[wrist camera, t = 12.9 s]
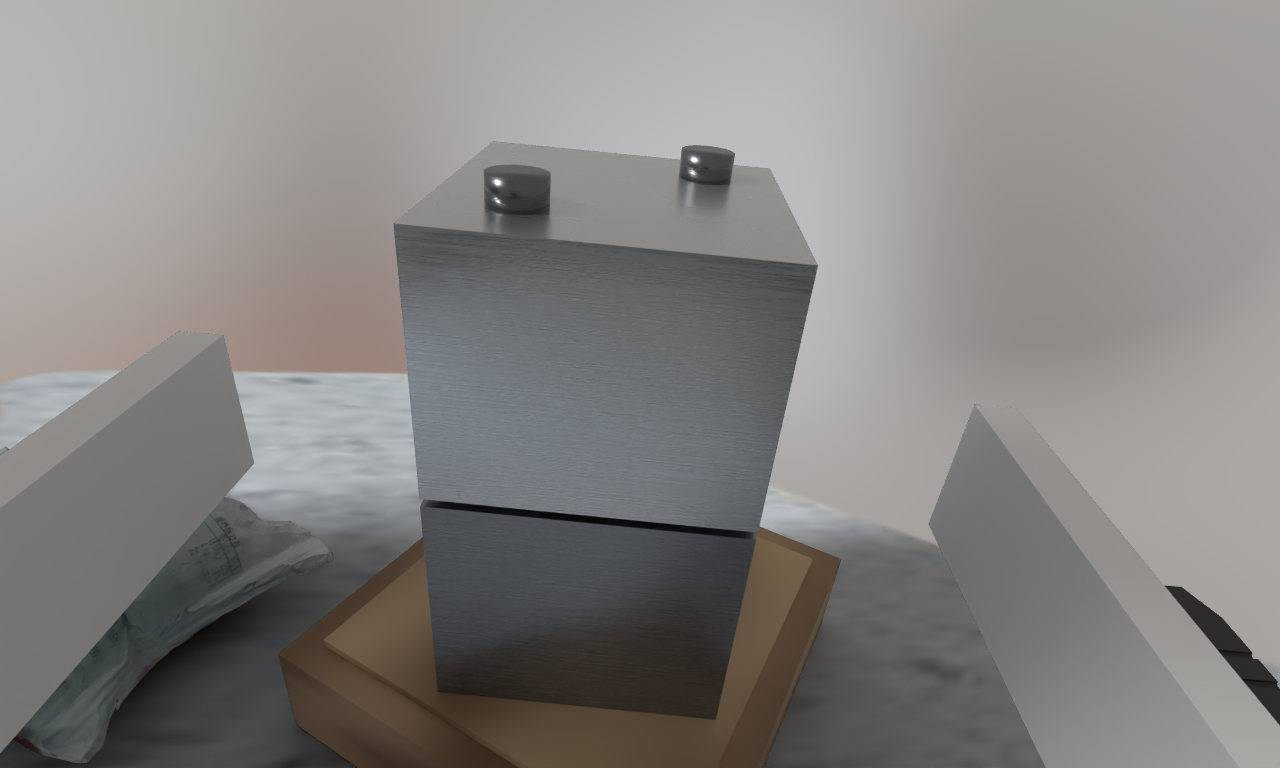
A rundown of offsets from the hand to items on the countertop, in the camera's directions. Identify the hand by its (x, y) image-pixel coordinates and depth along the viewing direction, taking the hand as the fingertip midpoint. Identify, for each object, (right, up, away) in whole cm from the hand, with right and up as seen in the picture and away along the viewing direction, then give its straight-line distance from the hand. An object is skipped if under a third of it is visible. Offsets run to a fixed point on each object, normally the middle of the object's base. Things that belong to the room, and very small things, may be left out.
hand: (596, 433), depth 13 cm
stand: (-1, -8, +10) cm, 13 cm away
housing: (-1, -5, +8) cm, 10 cm away
